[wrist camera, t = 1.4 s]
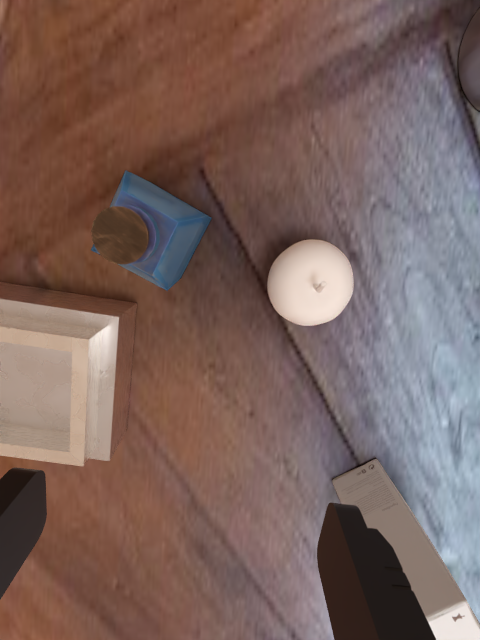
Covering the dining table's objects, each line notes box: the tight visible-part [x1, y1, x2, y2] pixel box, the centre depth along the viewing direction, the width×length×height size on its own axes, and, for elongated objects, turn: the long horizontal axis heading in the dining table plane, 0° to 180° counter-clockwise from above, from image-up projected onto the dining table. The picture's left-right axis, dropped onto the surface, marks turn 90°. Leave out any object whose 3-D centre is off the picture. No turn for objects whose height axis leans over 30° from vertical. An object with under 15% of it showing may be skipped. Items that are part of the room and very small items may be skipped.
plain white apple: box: [267, 239, 354, 326], centre depth 27 cm, size 7×7×8 cm
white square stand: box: [0, 282, 137, 466], centre depth 30 cm, size 14×14×8 cm
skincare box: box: [332, 459, 480, 640], centre depth 31 cm, size 8×6×15 cm
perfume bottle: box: [91, 170, 212, 290], centre depth 24 cm, size 6×6×12 cm
